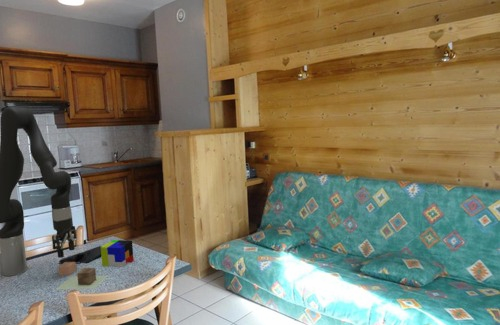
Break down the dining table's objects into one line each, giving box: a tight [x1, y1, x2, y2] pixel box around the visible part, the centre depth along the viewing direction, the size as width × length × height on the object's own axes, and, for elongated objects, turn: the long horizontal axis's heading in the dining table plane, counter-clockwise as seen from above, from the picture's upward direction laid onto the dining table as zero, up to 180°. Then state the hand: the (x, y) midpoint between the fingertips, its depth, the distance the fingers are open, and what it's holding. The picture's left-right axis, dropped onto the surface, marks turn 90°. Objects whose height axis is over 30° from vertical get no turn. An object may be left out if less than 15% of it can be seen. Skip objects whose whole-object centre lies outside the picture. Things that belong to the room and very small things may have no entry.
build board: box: [55, 275, 108, 291], centre depth 146 cm, size 16×12×1 cm
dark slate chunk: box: [57, 245, 103, 265], centre depth 176 cm, size 15×22×5 cm
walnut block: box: [76, 267, 97, 285], centre depth 146 cm, size 5×5×5 cm
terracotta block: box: [57, 262, 77, 276], centre depth 156 cm, size 5×5×5 cm
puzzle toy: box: [100, 239, 135, 267], centre depth 166 cm, size 10×10×10 cm
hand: (66, 253), depth 156 cm, fingers open, 8 cm apart
